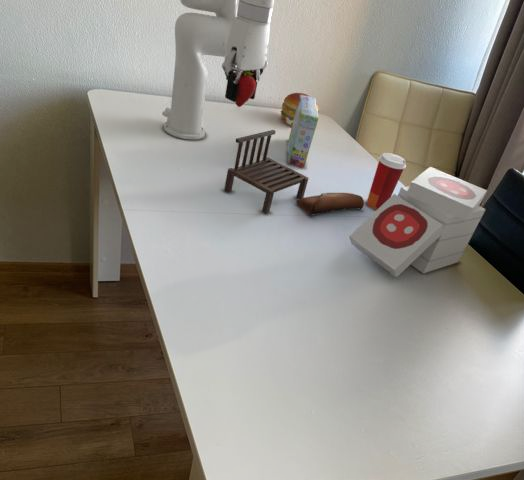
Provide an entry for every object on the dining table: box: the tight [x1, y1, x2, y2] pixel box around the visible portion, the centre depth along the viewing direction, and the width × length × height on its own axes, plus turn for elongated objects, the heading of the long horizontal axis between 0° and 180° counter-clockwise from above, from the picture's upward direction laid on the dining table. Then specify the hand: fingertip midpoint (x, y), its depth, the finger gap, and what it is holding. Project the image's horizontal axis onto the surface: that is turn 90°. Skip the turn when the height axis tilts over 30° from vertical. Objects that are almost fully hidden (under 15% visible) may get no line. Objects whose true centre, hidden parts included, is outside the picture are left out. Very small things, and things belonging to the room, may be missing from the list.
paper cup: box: [366, 152, 407, 211], centre depth 148 cm, size 8×8×14 cm
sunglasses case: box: [295, 192, 365, 216], centre depth 143 cm, size 18×7×7 cm
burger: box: [280, 92, 319, 126], centre depth 190 cm, size 13×14×10 cm
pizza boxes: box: [348, 166, 488, 278], centre depth 127 cm, size 19×30×18 cm, turn 128°
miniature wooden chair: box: [223, 129, 310, 215], centre depth 137 cm, size 14×17×14 cm
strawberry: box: [233, 70, 257, 108], centre depth 127 cm, size 6×8×10 cm
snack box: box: [287, 95, 319, 168], centre depth 165 cm, size 21×6×15 cm, turn 179°
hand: (239, 97), depth 129 cm, fingers closed on strawberry, 6 cm apart
